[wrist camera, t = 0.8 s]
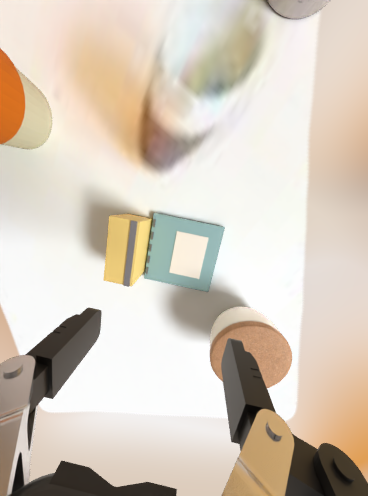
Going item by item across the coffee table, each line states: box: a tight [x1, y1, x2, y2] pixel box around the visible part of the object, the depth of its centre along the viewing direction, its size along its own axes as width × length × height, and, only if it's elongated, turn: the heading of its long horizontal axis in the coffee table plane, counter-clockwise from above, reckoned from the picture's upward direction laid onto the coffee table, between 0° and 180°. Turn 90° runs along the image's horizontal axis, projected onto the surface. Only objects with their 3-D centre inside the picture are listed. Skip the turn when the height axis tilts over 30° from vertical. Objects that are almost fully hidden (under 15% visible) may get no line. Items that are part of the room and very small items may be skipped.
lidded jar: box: [210, 307, 292, 388], centre depth 26 cm, size 11×11×9 cm
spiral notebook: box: [144, 213, 225, 292], centre depth 28 cm, size 11×11×1 cm
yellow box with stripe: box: [104, 214, 152, 287], centre depth 26 cm, size 9×4×6 cm, turn 169°
